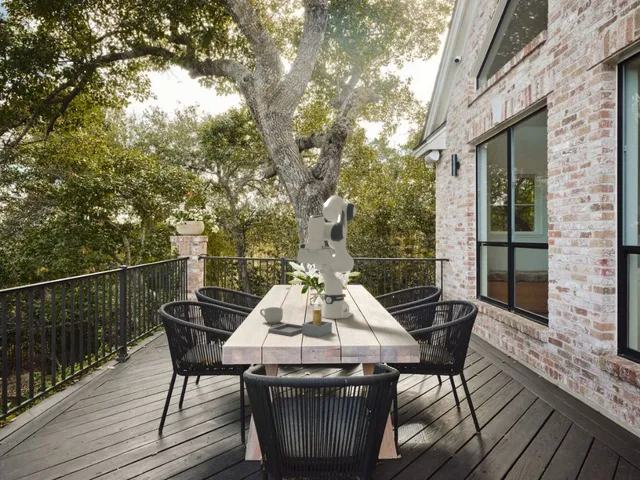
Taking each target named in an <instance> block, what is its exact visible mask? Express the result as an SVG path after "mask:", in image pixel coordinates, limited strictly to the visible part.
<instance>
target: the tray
mask: <svg viewBox="0 0 640 480" xmlns="http://www.w3.org/2000/svg"><path fill="white" fill-rule="evenodd" d="M300 333H301V334H302V324H294V323H288V322H287V323H283V324H280V325H278V326H273V327H270V328H268V334H277V335H283V336H288V337H292V336H294V335H295V336H296V335H298V334H300Z"/></svg>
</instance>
